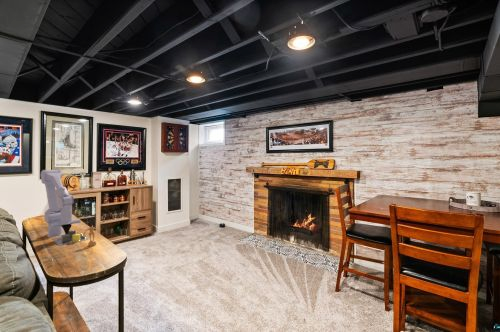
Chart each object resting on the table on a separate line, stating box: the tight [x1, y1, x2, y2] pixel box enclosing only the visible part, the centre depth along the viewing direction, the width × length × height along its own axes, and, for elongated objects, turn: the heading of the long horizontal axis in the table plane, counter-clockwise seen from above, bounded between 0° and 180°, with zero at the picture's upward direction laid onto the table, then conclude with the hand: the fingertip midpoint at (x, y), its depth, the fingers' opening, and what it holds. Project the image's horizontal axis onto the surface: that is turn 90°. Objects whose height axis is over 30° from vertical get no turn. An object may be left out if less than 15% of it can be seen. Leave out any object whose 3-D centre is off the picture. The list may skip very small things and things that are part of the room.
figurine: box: [83, 226, 101, 247], centre depth 141 cm, size 8×6×12 cm
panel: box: [52, 231, 90, 247], centre depth 150 cm, size 18×15×3 cm
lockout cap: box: [72, 233, 81, 243], centre depth 147 cm, size 4×4×4 cm
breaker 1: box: [60, 234, 70, 242], centre depth 146 cm, size 3×4×4 cm
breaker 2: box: [68, 229, 77, 237], centre depth 155 cm, size 3×4×4 cm
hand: (66, 236), depth 153 cm, fingers closed
